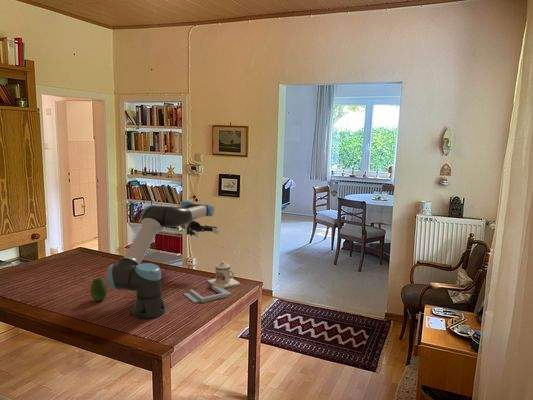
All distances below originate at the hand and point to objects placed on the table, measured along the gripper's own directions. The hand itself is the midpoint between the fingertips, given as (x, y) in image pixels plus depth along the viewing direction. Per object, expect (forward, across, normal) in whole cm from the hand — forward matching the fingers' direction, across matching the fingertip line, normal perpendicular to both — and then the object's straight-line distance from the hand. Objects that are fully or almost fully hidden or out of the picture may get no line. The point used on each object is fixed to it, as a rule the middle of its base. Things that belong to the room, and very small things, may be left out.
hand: (207, 233), depth 241 cm
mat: (+13, -4, -28) cm, 31 cm away
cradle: (+24, +12, -28) cm, 39 cm away
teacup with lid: (+13, -5, -27) cm, 30 cm away
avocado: (+1, +63, -28) cm, 69 cm away
